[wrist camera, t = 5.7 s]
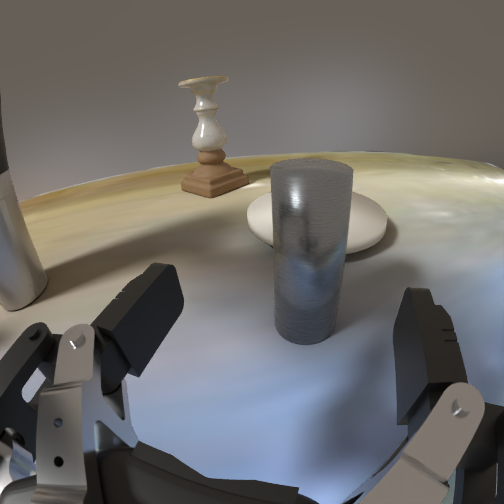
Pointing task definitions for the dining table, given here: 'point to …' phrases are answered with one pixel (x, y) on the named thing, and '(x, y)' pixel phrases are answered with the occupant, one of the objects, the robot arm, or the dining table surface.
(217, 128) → the candle holder
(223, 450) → the dining table surface
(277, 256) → the cup
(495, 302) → the dining table surface
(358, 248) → the disc
